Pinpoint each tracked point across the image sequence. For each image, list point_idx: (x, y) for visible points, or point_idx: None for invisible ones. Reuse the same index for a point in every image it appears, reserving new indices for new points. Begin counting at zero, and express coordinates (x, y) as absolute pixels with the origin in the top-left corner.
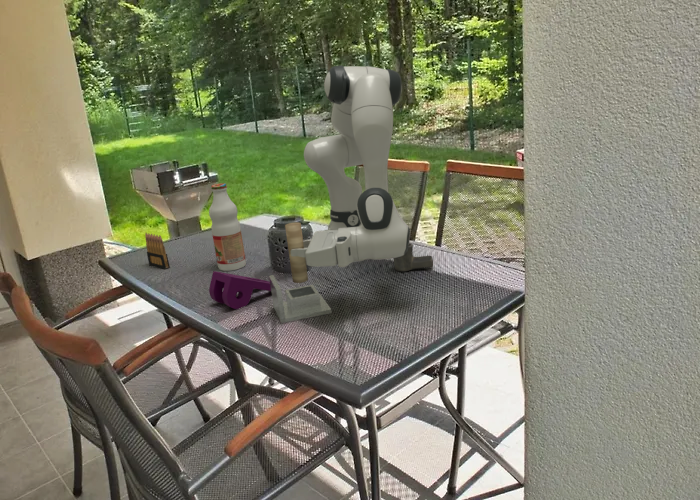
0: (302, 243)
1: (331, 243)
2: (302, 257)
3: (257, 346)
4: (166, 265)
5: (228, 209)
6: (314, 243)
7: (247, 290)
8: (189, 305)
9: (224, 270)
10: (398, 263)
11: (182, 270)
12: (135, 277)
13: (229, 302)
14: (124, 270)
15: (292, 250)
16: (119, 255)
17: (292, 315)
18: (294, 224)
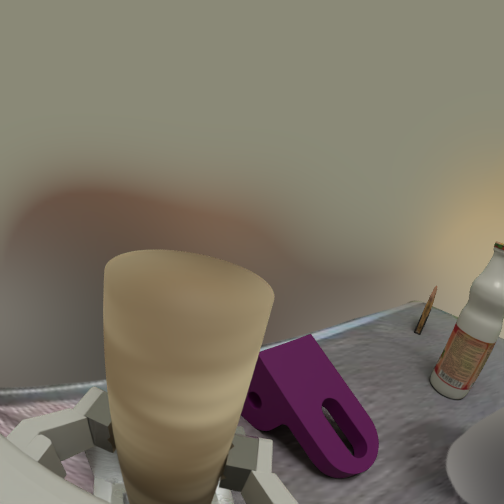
0: (131, 453)
1: None
2: (128, 486)
3: (21, 397)
4: (418, 329)
5: (492, 290)
6: (14, 493)
7: (272, 412)
8: None
9: (430, 380)
10: None
11: (416, 344)
12: (384, 316)
13: None
14: (400, 310)
15: (89, 393)
16: (432, 306)
17: (107, 498)
18: (182, 281)
